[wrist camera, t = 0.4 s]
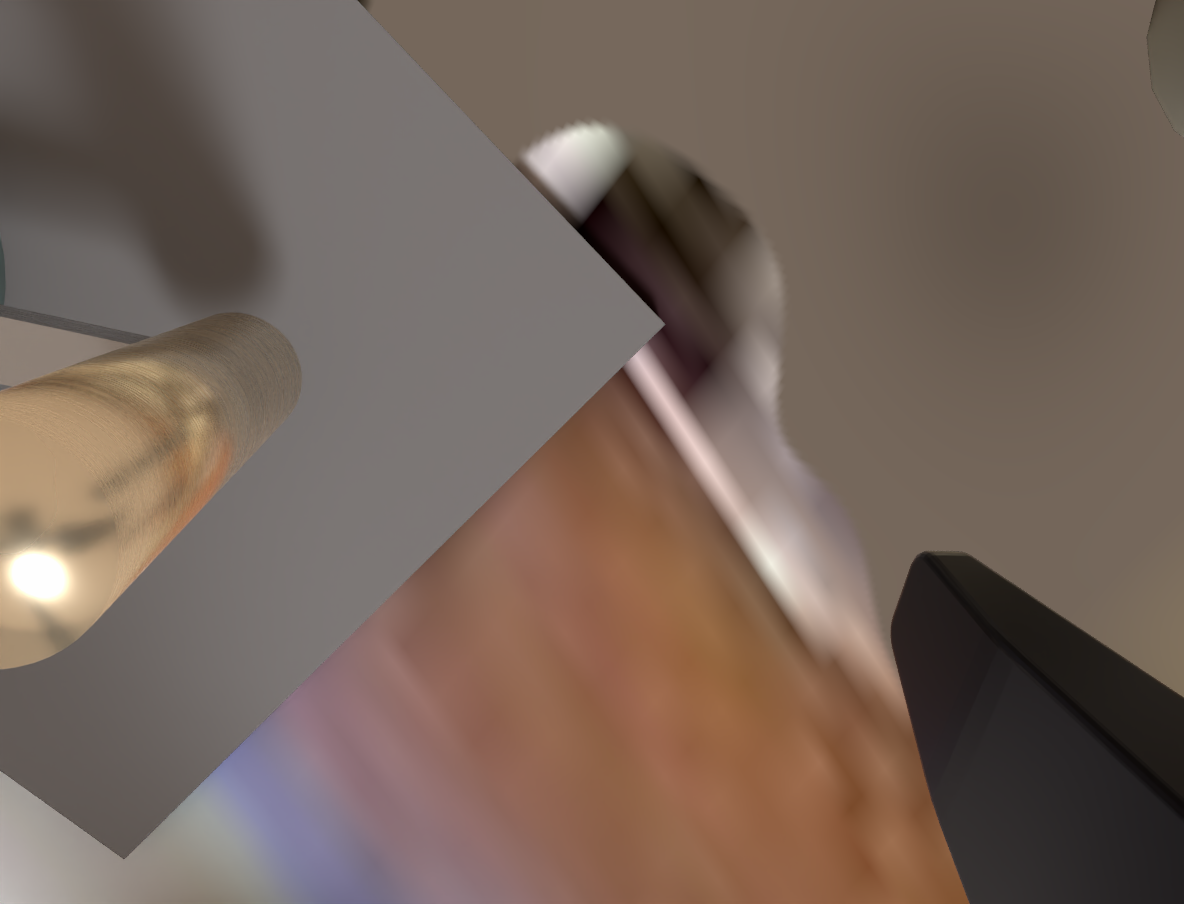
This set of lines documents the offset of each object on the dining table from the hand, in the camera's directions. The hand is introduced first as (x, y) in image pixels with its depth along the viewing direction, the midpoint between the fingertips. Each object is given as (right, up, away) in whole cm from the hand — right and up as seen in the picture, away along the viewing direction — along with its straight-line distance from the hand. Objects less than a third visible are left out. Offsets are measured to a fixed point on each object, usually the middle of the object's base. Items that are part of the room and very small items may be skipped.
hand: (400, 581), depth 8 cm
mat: (-10, +4, +14) cm, 18 cm away
